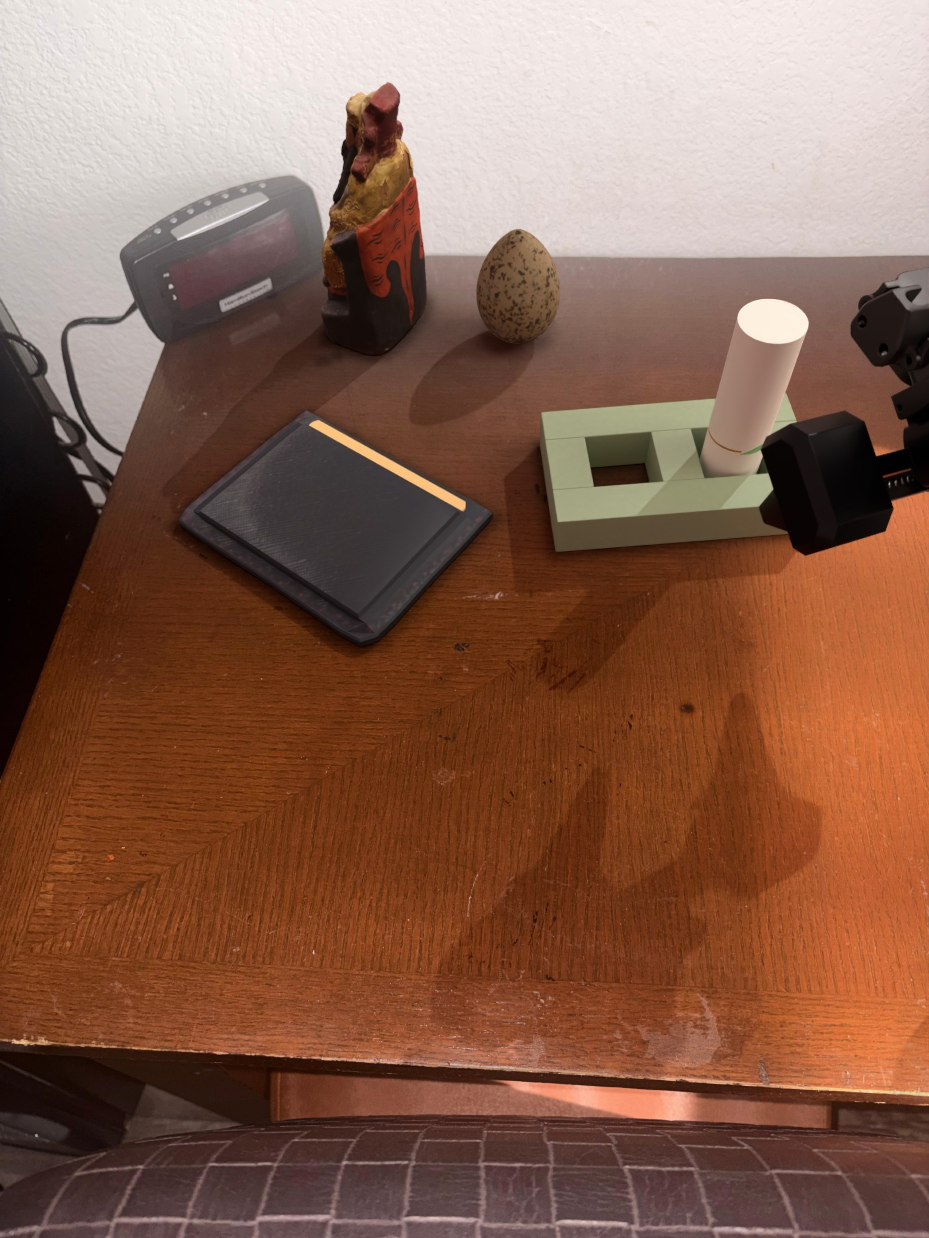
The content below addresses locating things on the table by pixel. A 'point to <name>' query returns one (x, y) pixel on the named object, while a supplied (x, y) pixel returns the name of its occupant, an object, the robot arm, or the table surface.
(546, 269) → the decorative egg
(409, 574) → the wallet
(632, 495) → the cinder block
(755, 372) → the tube
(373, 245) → the statue
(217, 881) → the table surface
